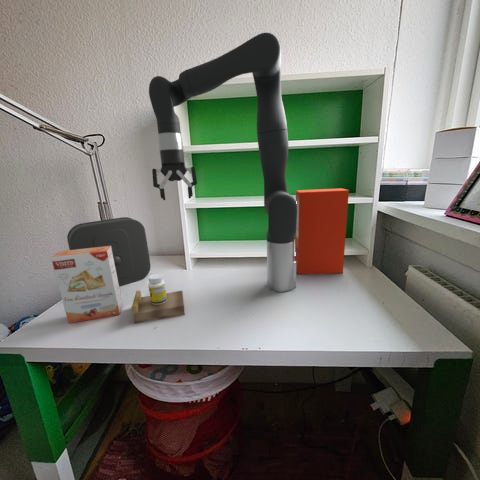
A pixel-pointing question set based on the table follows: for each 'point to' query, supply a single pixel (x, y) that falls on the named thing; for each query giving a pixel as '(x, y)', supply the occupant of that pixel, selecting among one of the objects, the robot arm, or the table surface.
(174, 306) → the dock
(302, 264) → the file binder
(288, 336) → the table surface
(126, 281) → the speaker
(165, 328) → the table surface
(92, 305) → the cracker box
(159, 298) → the supplement bottle
